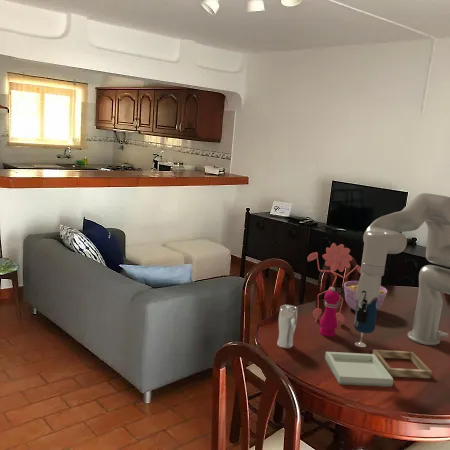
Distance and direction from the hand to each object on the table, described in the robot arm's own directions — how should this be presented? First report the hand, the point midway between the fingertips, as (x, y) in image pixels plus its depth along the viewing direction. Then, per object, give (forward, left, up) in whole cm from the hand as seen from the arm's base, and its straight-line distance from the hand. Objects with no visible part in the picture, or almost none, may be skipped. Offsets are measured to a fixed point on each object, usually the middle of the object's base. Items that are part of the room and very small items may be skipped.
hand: (365, 318), depth 164 cm
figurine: (-3, -47, -20) cm, 51 cm away
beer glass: (+22, -19, -20) cm, 35 cm away
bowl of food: (-23, -62, -20) cm, 69 cm away
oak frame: (-18, -6, -20) cm, 27 cm away
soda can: (0, 0, -4) cm, 4 cm away
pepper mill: (+2, -32, -20) cm, 38 cm away
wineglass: (-9, -23, -20) cm, 32 cm away
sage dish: (0, 0, -20) cm, 20 cm away
